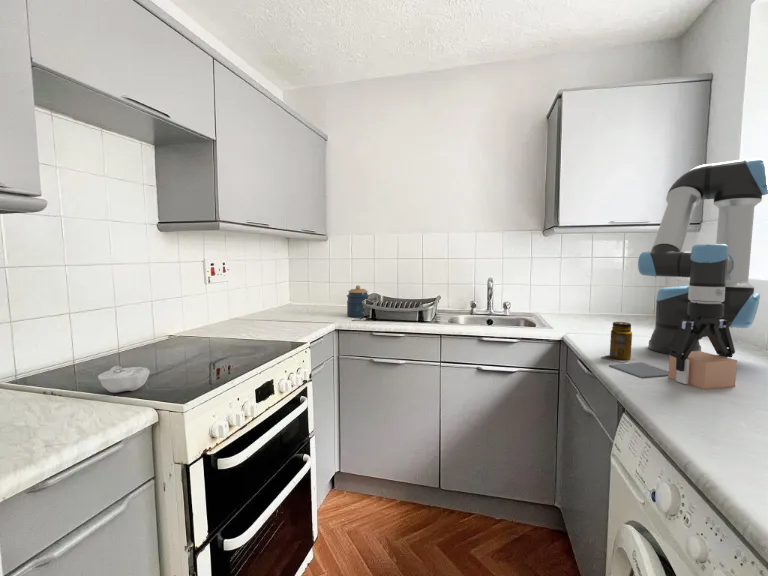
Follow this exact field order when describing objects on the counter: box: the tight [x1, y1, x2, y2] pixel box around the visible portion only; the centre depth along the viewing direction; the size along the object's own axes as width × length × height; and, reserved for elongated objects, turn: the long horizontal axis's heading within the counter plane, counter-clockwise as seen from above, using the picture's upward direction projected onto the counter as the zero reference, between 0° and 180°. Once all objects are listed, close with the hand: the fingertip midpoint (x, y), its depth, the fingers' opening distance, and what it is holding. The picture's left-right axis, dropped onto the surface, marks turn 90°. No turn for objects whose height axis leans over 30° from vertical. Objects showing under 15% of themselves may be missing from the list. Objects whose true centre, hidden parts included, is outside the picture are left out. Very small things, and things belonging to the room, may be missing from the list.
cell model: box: [97, 365, 151, 394], centre depth 102 cm, size 10×12×7 cm
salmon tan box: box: [668, 350, 738, 390], centre depth 105 cm, size 10×10×7 cm
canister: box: [346, 285, 370, 318], centre depth 221 cm, size 13×13×18 cm
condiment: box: [601, 321, 637, 364], centre depth 129 cm, size 7×8×12 cm
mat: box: [608, 361, 669, 379], centre depth 116 cm, size 12×12×1 cm
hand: (700, 380), depth 106 cm, fingers open, 12 cm apart
